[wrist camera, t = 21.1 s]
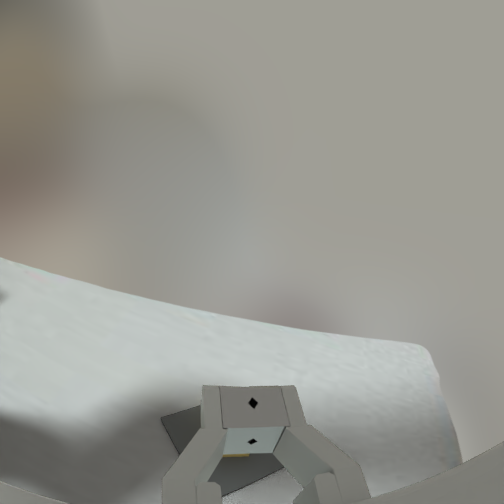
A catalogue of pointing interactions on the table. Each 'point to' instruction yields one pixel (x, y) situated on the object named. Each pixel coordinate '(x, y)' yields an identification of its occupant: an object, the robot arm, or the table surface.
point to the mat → (229, 468)
